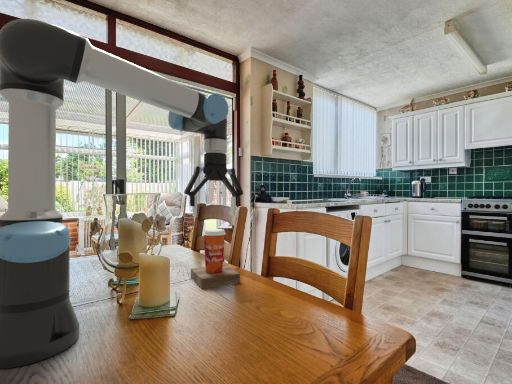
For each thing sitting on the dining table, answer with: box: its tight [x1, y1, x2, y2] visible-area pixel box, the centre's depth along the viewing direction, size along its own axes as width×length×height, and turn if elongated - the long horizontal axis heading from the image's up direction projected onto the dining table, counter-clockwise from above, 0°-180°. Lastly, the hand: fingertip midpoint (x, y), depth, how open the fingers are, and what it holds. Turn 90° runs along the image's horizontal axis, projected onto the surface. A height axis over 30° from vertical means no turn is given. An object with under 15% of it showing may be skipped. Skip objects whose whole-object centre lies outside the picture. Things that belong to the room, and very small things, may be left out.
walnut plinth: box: [190, 264, 241, 289], centre depth 96 cm, size 13×13×3 cm
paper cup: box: [202, 228, 227, 274], centre depth 96 cm, size 8×8×14 cm
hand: (214, 216), depth 96 cm, fingers open, 13 cm apart
